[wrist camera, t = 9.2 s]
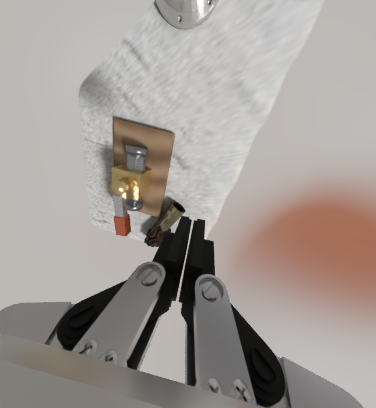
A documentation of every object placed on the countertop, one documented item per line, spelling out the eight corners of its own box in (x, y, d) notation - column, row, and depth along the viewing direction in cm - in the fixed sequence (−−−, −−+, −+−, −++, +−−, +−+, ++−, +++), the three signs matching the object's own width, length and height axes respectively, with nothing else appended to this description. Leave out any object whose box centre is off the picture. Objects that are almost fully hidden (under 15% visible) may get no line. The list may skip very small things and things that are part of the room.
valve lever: (117, 177, 31) (107, 180, 28) (130, 179, 31) (121, 183, 28) (122, 226, 37) (115, 234, 34) (134, 228, 36) (127, 236, 33)
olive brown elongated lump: (173, 198, 41) (169, 206, 36) (191, 211, 42) (189, 221, 37) (145, 233, 48) (138, 244, 43) (160, 244, 49) (155, 255, 44)
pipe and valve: (130, 143, 35) (111, 143, 28) (155, 150, 35) (142, 151, 28) (127, 199, 42) (111, 210, 35) (148, 205, 42) (136, 217, 35)
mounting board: (117, 118, 34) (113, 117, 33) (175, 133, 34) (173, 133, 32) (117, 202, 44) (114, 204, 43) (160, 215, 44) (159, 217, 42)
